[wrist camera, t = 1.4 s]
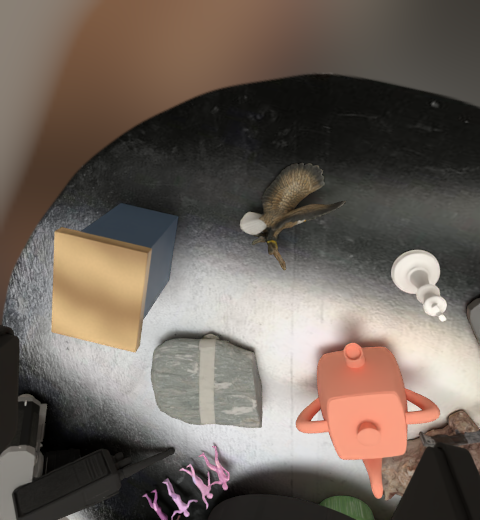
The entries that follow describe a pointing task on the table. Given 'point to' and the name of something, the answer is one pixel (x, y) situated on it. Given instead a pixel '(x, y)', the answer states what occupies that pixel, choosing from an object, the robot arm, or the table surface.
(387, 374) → the teapot
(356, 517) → the ramekin
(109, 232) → the box
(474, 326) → the shallow gray tray
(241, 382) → the decorative stone
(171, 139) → the table surface
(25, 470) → the camera
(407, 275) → the chess piece
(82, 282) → the board
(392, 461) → the stone
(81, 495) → the walkie-talkie
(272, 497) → the wall sign
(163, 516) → the people figure
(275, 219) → the eagle figurine
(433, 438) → the knife
